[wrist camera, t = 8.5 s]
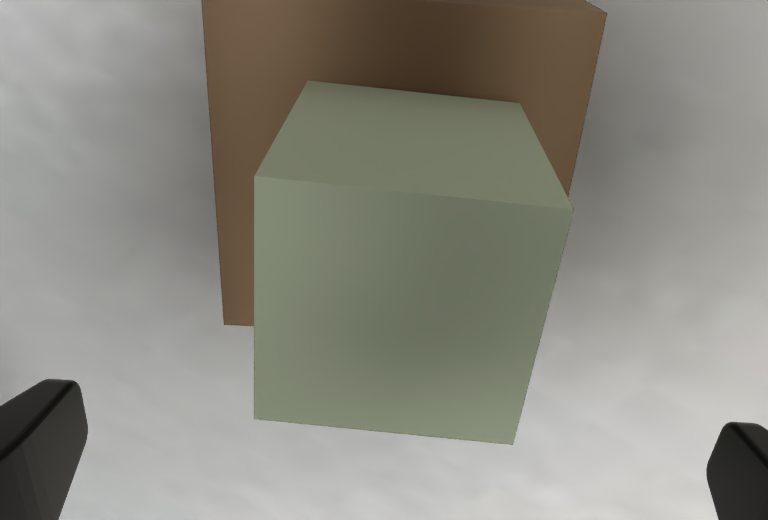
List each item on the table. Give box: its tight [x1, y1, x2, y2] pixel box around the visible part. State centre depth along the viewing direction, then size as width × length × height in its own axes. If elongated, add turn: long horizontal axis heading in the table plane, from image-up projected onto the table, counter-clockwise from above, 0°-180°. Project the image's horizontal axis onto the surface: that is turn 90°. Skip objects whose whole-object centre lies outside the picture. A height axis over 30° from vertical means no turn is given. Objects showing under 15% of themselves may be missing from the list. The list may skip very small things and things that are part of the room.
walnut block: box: [202, 0, 607, 326], centre depth 18 cm, size 9×9×3 cm
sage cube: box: [254, 81, 574, 445], centre depth 14 cm, size 5×5×6 cm
